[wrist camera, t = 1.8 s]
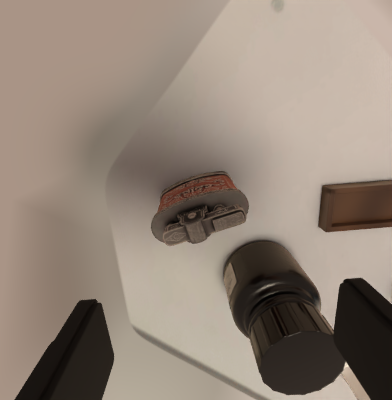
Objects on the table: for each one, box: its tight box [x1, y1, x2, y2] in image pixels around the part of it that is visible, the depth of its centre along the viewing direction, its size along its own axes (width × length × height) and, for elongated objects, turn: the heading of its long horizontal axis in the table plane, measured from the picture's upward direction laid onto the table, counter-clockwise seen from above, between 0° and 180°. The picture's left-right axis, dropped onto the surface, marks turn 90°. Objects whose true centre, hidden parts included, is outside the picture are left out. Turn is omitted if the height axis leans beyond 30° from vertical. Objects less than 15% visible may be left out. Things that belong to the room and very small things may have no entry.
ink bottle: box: [224, 241, 346, 395], centre depth 24 cm, size 10×9×12 cm
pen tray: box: [319, 180, 392, 232], centre depth 26 cm, size 10×5×2 cm, turn 94°
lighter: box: [151, 171, 249, 246], centre depth 21 cm, size 8×3×10 cm, turn 108°
